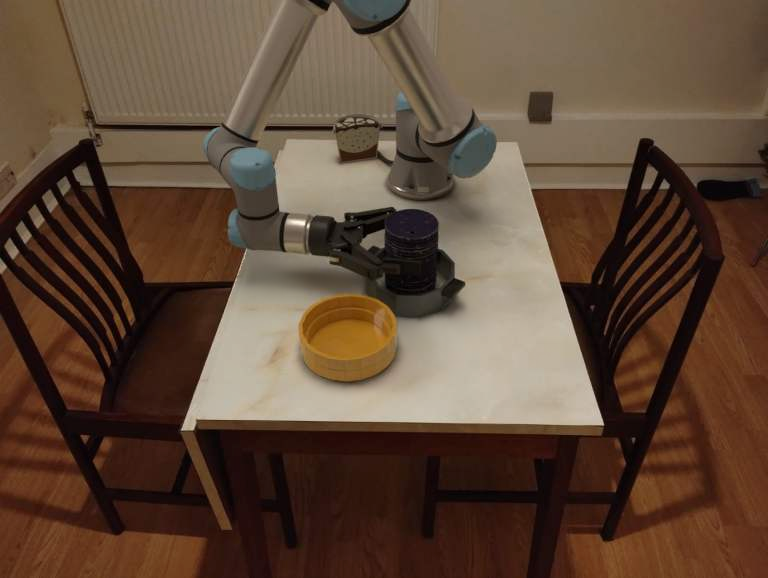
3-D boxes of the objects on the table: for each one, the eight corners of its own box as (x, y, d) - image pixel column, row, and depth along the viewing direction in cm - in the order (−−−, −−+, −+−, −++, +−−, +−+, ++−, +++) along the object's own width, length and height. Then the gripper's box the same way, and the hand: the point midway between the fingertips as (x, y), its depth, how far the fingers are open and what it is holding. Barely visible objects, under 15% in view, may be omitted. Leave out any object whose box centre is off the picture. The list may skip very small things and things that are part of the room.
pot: (341, 291, 127) (340, 271, 124) (389, 249, 138) (389, 229, 135) (434, 333, 118) (435, 312, 115) (478, 285, 128) (480, 264, 125)
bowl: (288, 333, 118) (285, 310, 115) (372, 307, 124) (371, 284, 120) (321, 396, 107) (319, 372, 103) (412, 364, 112) (413, 340, 109)
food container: (376, 146, 173) (375, 110, 167) (382, 157, 169) (382, 120, 162) (330, 152, 171) (327, 116, 165) (335, 164, 166) (332, 126, 160)
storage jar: (384, 272, 132) (384, 208, 122) (434, 272, 132) (437, 208, 122) (384, 305, 124) (384, 239, 115) (437, 305, 124) (441, 239, 114)
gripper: (329, 215, 136) (432, 224, 133) (295, 292, 117) (415, 305, 114) (326, 183, 131) (434, 192, 128) (291, 258, 112) (416, 270, 109)
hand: (425, 245), depth 121 cm, fingers open, 13 cm apart
